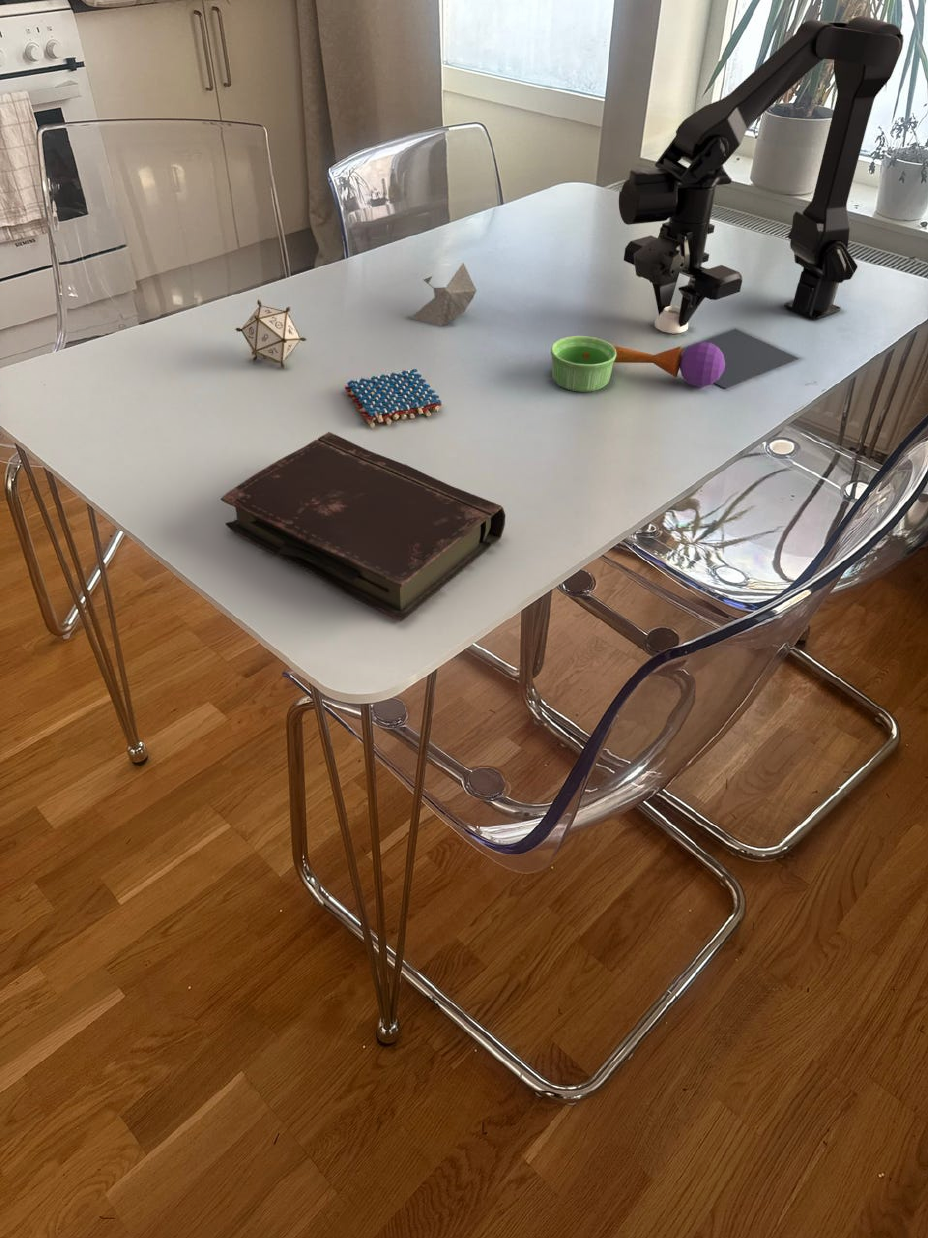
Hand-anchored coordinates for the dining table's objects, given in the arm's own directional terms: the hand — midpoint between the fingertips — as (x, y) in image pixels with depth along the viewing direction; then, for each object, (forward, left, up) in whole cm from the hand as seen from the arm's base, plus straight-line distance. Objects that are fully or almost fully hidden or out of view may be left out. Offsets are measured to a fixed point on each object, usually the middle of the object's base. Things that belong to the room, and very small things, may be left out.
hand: (671, 322), depth 143 cm
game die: (+55, -25, -1) cm, 60 cm away
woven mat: (+48, -5, -1) cm, 48 cm away
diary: (+67, +18, -1) cm, 69 cm away
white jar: (0, 0, -1) cm, 1 cm away
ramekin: (+23, +4, -1) cm, 23 cm away
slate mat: (0, +12, -1) cm, 12 cm away
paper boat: (+25, -24, -1) cm, 35 cm away
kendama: (+14, +9, -1) cm, 17 cm away
